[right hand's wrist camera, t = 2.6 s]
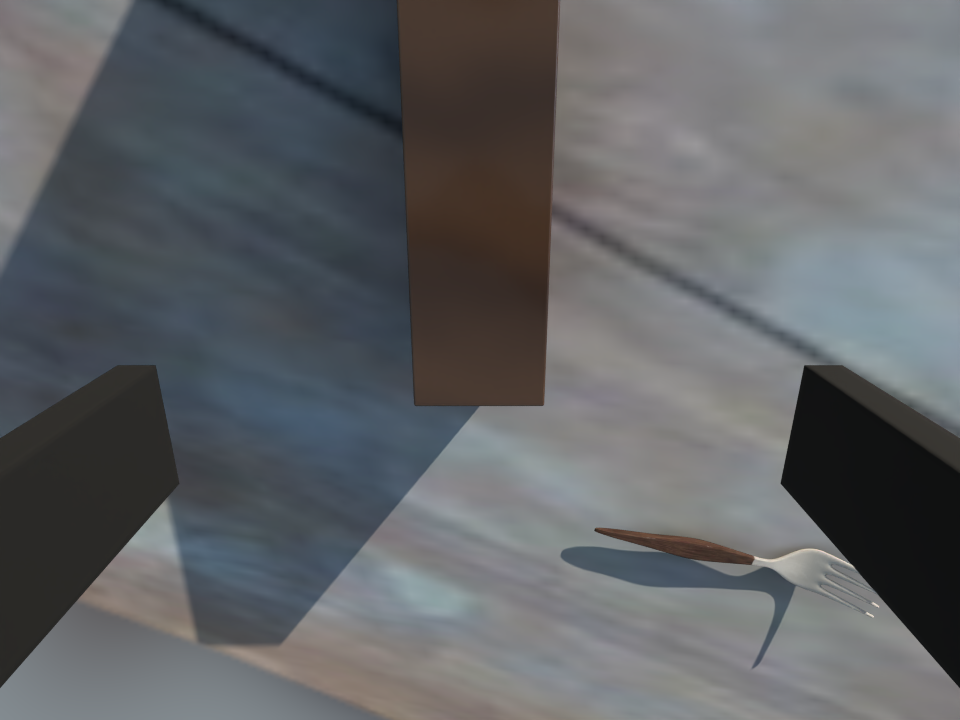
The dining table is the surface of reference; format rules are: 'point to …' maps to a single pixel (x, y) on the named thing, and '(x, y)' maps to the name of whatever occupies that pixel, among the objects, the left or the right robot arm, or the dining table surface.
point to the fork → (756, 561)
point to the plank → (478, 195)
